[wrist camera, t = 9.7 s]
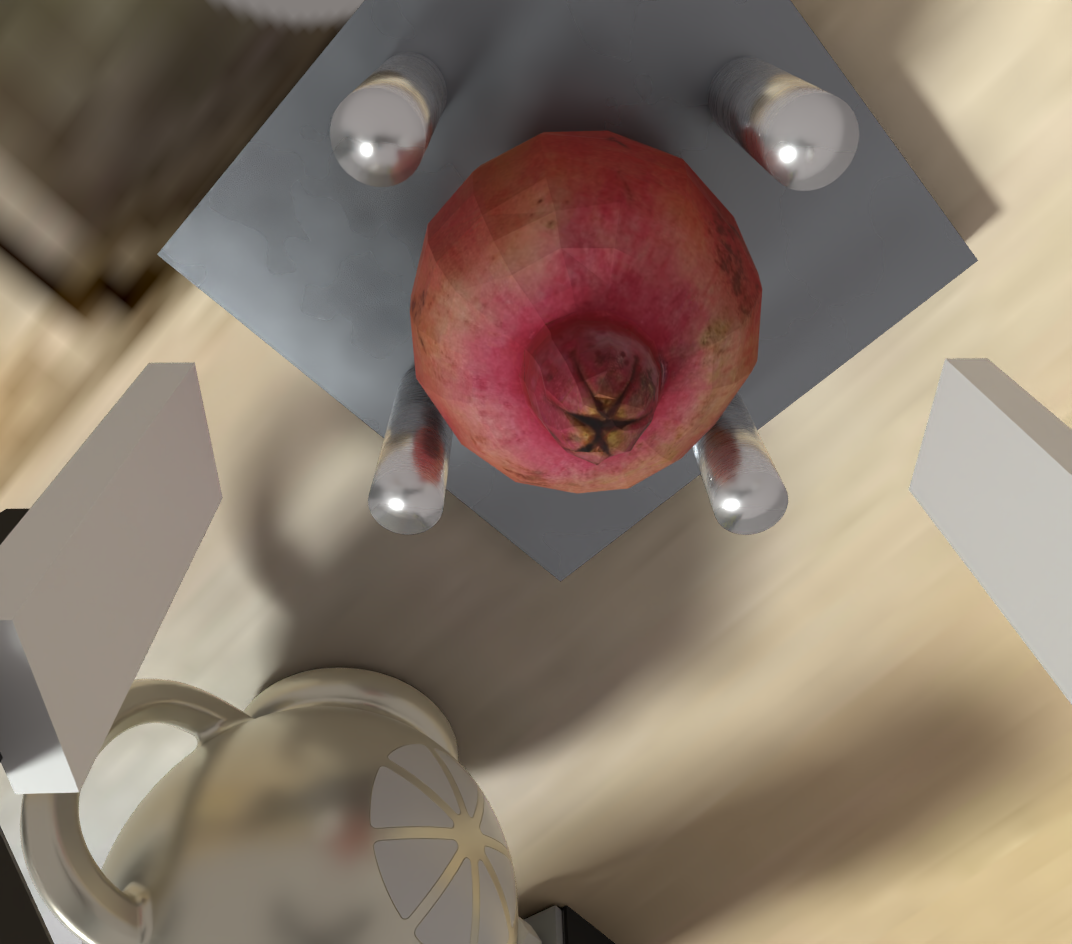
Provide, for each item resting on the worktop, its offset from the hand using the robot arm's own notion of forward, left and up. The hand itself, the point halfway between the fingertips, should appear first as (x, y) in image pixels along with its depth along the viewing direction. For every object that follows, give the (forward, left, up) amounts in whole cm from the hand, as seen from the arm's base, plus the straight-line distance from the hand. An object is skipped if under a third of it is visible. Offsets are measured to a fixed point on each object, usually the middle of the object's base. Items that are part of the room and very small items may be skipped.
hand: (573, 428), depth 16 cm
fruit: (0, 0, -10) cm, 10 cm away
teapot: (+7, -20, -11) cm, 24 cm away
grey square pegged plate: (0, 0, -11) cm, 11 cm away
